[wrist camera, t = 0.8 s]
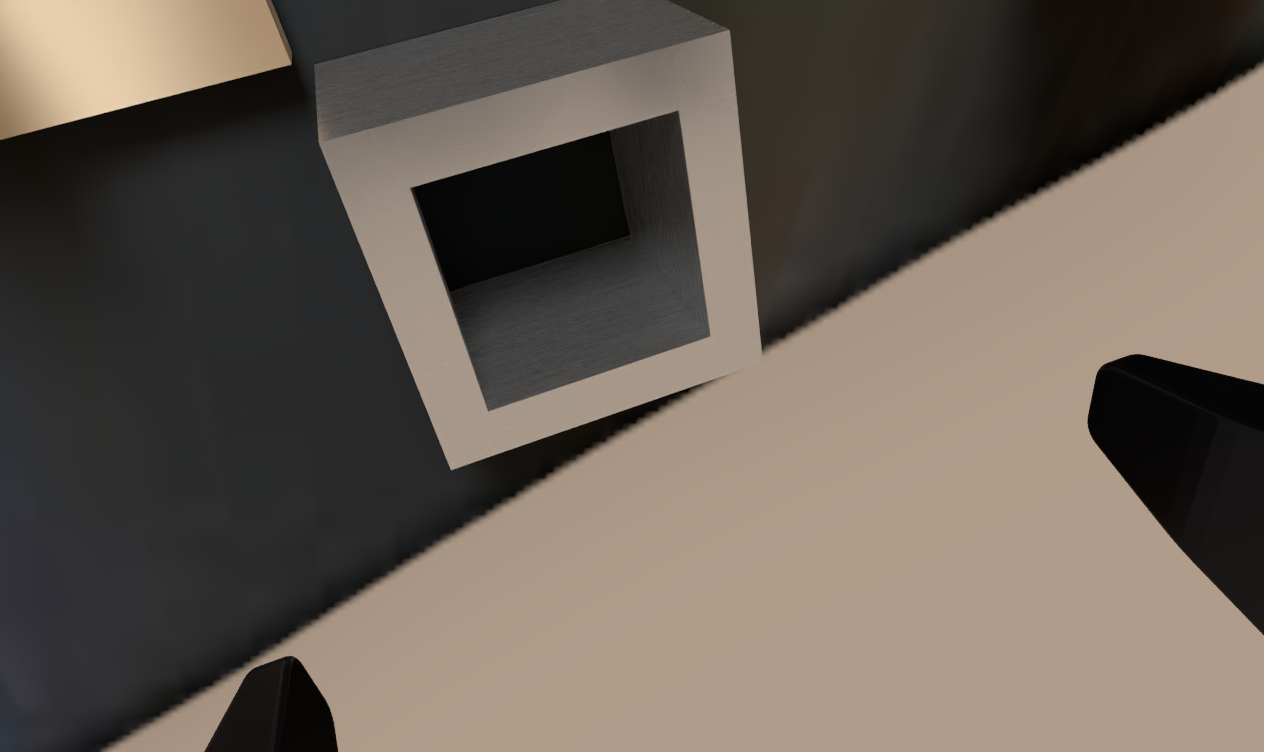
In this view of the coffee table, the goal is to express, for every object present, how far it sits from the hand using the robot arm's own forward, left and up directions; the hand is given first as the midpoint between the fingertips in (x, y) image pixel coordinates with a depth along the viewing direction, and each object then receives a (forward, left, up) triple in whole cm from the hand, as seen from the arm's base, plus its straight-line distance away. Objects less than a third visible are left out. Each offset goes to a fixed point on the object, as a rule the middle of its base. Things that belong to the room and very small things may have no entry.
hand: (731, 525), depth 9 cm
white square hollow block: (0, 0, -12) cm, 12 cm away
